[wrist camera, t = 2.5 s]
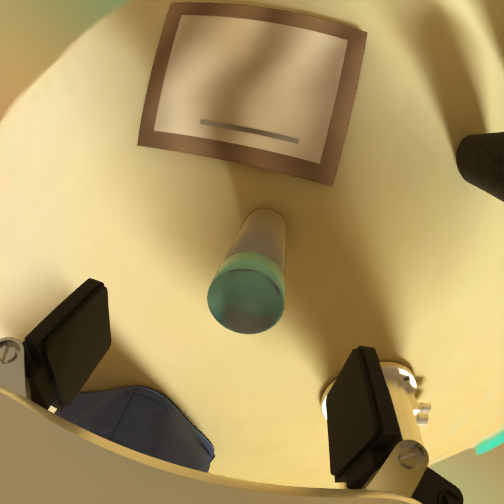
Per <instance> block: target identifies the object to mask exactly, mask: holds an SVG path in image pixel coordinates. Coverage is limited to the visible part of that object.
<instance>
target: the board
mask: <svg viewBox="0 0 504 504" xmlns="http://www.w3.org/2000/svg"><path fill="white" fill-rule="evenodd" d="M366 38H367V32H364V31H361V30H358V29H355V28H352V27H349V26H345V25H342V24H338V23H335V22H331V21H327V20H324V19H320V18H315V17H311V16H307V15H302V14H297V13H292V12H287V11H281V10H275V9H269V8H262V7H254V6H245V5H234V4H220V3H171V6H170V9H169V12H168V15H167V18H166V21H165V24H164V27H163V31H162V34H161V38H160V41H159V45H158V48H157V52H156V56H155V60H154V64H153V68H152V72H151V76H150V80H149V85H148V89H147V94H146V99H145V104H144V109H143V114H142V120H141V125H140V131H139V137H138V144H137V145H138V146H145V147H152V148H159V149H165V150H172V151H178V152H184V153H189V154H195V155H200V156H206V157H211V158H216V159H221V160H226V161H231V162H236V163H241V164H245V165H250V166H254V167H259V168H263V169H268V170H272V171H276V172H280V173H284V174H288V175H292V176H296V177H300V178H304V179H308V180H311V181H315V182H319V183H323V184H326V185H330V186H333V183H334V179H335V176H336V172H337V168H338V164H339V160H340V157H341V153H342V149H343V145H344V141H345V137H346V132H347V128H348V124H349V120H350V116H351V111H352V107H353V102H354V98H355V93H356V89H357V84H358V79H359V74H360V69H361V64H362V59H363V54H364V49H365V43H366Z"/></svg>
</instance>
